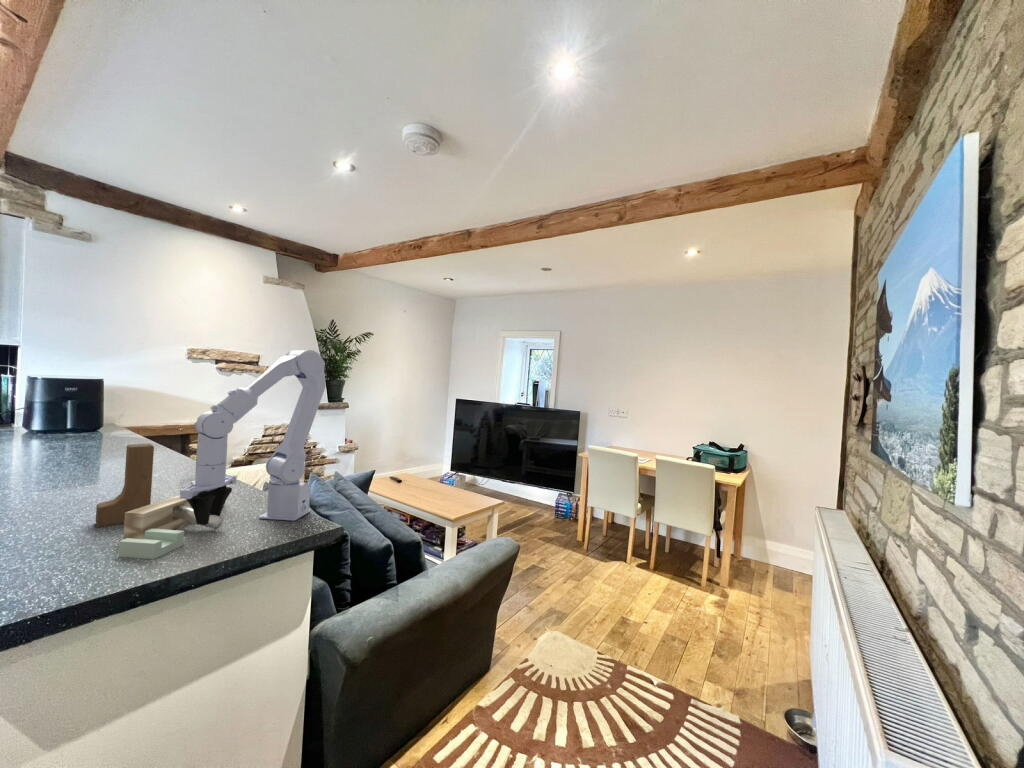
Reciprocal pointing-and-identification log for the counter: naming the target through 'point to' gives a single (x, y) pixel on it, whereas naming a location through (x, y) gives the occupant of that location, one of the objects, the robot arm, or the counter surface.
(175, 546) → the v block
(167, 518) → the beam
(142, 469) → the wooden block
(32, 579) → the counter surface
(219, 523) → the axle
